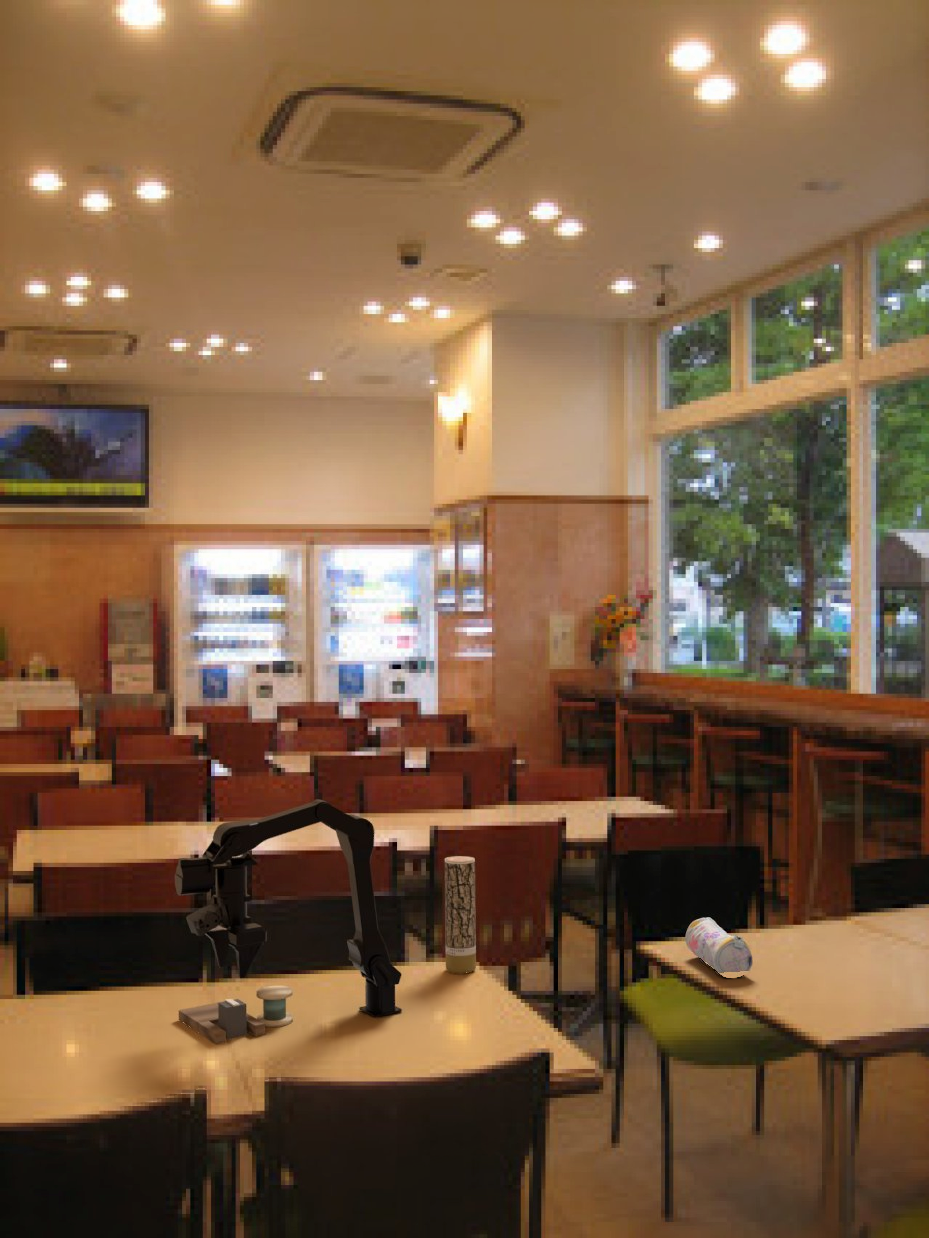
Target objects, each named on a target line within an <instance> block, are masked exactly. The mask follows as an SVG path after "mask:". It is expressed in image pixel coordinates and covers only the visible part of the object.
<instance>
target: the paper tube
mask: <svg viewBox="0 0 929 1238" xmlns="http://www.w3.org/2000/svg"><path fill="white" fill-rule="evenodd" d="M444 915H445V916H444V920H445V921H444V922H445V923H444V927H445V928H444V929H445V931H444V933H445V934H444V935H445V969H446V971H447V972H448V973H451V972H453V973H452V974H456V973H465V974H467V973H466V972H470V973H473V972H474V971H475V970H476V969H477V956H476V955H477V949H476V948H477V945H476V943H477V938H476V937H477V934H476V933H477V932H476V931H477V930H476V928H477V927H476V926H477V925H476V922H477V921H476V860H475V857H473V856H467V855H465V856H464V855H463V856H462V855H459V856H458V855H455V856H448V857H445V858H444ZM472 971H473V972H472Z"/></svg>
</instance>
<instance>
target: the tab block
mask: <svg viewBox="0 0 929 1238" xmlns="http://www.w3.org/2000/svg"><path fill="white" fill-rule="evenodd" d="M218 1002H219V1003H218ZM218 1002H217V1003H218V1023H219V1028H221V1029H223V1030H224V1031H226V1040H232V1039H237V1038H241V1037H247V1035H248V1034H247V1033H248V1031H247V1020H246V1013H247V1003H245V1002H244V1001H242V1000H240V999H238V998H235V999H233V998H227V999H224V1002H223V1001H218Z"/></svg>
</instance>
